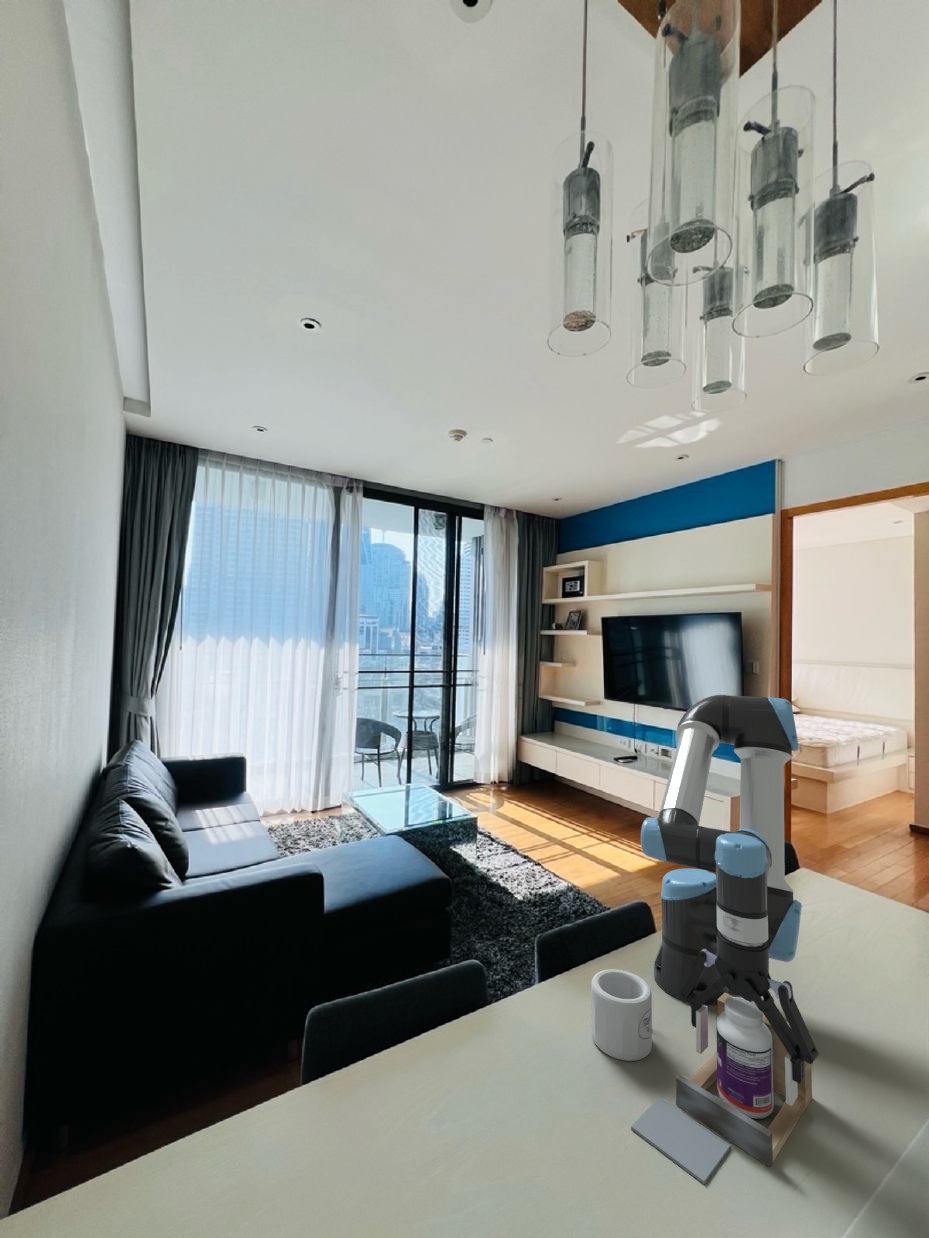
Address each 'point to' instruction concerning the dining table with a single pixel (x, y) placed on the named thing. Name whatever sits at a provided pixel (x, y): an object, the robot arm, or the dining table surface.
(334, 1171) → the dining table surface
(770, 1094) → the pill bottle
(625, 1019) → the mug
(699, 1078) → the wooden bottle holder
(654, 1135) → the mat
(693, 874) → the robot arm
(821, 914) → the dining table surface
